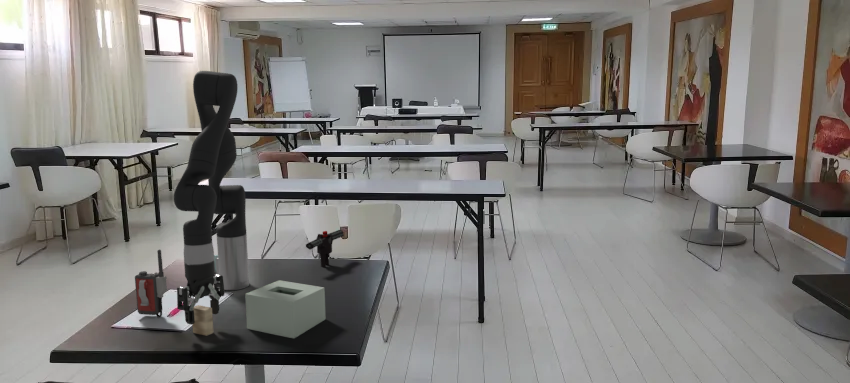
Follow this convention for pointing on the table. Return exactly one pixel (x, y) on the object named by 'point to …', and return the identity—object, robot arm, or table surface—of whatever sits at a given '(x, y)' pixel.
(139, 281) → the walkie-talkie
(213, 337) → the table surface
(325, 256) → the black tube on stand
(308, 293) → the box
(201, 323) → the light brown upright block
